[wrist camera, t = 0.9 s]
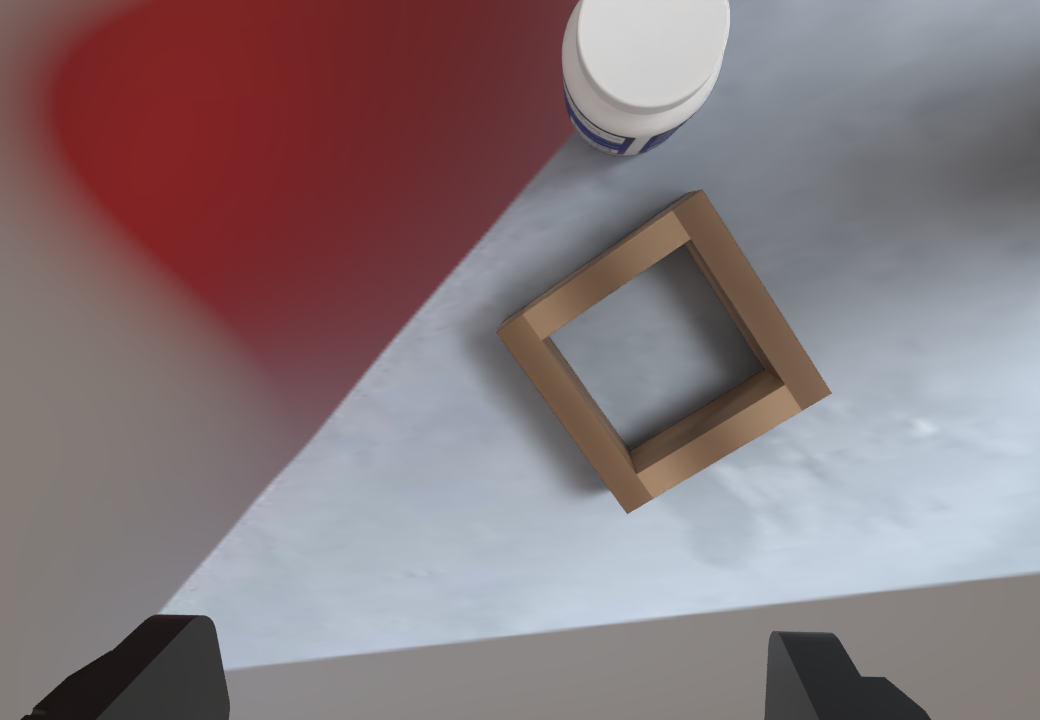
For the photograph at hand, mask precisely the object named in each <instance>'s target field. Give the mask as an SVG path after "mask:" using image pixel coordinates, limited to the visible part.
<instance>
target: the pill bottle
mask: <svg viewBox="0 0 1040 720" xmlns="http://www.w3.org/2000/svg"><path fill="white" fill-rule="evenodd" d="M729 28H730V9H729V2H728V0H580V1H579V2H578V4H577V5H576V7H575V9H574V10H573V12H572V14H571V16H570V19H569V21H568V24H567V27H566V30H565V34H564V39H563V45H562V71H563V85H564V96H565V103H566V108H567V112H568V115H569V117H570V120H571V122H572V124H573V126H574V128H575V129H576V131H577V132H578V133H579V135H580V136H581V137H582V138H583V139H584V140H585V141H586V142H587V143H589V144H590V145H591V146H593V147H595V148H596V149H598V150H600V151H603V152H605V153H609V154H613V155H635V154H639V153H643V152H646V151H648V150H651V149H653V148H655V147H656V146H658V145H660V144H661V143H663V142H664V141H665V140H666V139H668V138H669V137H670V136H671V135H672V134H673V133H674V132H675V131H676V130H677V129H678V128H679V127H680V126H682V125H683V124H684V123H685V122H686V121H687V120H688V119H689V118H690V117H691V116H692V115H693V114H694V113H695V112H697V111H698V109H699V108H700V107H701V106H702V104H703V103H704V102H705V100H706V99H707V98H708V96H709V94H710V92H711V91H712V89H713V87H714V85H715V83H716V80H717V78H718V75H719V72H720V69H721V65H722V61H723V54H724V50H725V47H726V44H727V40H728V35H729Z"/></svg>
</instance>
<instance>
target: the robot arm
mask: <svg viewBox="0 0 1040 720" xmlns="http://www.w3.org/2000/svg"><path fill="white" fill-rule="evenodd" d="M229 712H230V703H229V696H228V691H227V685H226V680H225V675H224V670H223V664H222V659H221V654H220V648H219V643H218V638H217V633H216V628H215V625H214V623H213V621H212V620H211V619H210V618H209V617H208V616H202V615H161V614H160V615H153V616H151V617H149V618H148V619H146V620H145V621H144V622H143V623H142V624H141V625H139V626H138V627H137V628H136V629H135V630H134V631H133V632H132V633H131V634H130V635H129V636H128V637H126V638H125V639H124V640H123V641H122V642H121V643H120V644H119V645H118V646H117V647H116V648H115V649H114V650H112V651H109V652H108V653H106V654H104V655H103V656H101V657H99V658H98V659H96V660H95V661H93V662H91V663H90V664H88V665H86V666H85V667H83V668H82V669H80V670H78V671H77V672H75V673H73V674H72V675H70V676H68V677H67V678H66V679H65V680H64V681H63V682H62V683H61V684H60V685H58V686H57V687H56V688H55V689H54V690H53V691H52V692H51V693H49V694H48V695H47V696H46V697H45V698H44V699H43V700H42V701H41V702H40V703H38V704H37V705H36V706H35V707H34V708H33V712H32V714H31V715H25V716H24V717H23V718H22V719H21V720H229ZM765 720H931V719H930V717H929V716H928V714H927V713H926V712H925V710H923V709H922V708H921V707H920V706H919V705H917V704H916V703H915V702H914V701H913V700H911V699H910V698H909V697H908V696H907V695H905V694H904V693H903V692H902V691H901V690H899V689H898V688H897V687H896V686H895V685H893V684H892V683H891V682H890V681H888V680H887V679H886V678H885V677H861V675H860V674H859V672H858V671H857V669H856V667H855V665H854V664H853V662H852V661H851V659H850V657H849V655H848V654H847V652H846V650H845V649H844V647H843V645H842V644H841V642H840V641H839V639H838V638H837V637H836V636H835V635H834V634H833V633H824V632H784V631H773V632H772V633H771V635H770V639H769V646H768V664H767V684H766V701H765Z"/></svg>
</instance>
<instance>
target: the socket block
mask: <svg viewBox="0 0 1040 720" xmlns="http://www.w3.org/2000/svg"><path fill="white" fill-rule="evenodd" d="M683 244H684V246H685V247H686V249H687V250H688V252H689V253H690V255H691V256H692V258H693V259H694V261H695V263H696V264H697V266H698V267H699V269H700V270H701V272H702V273H703V275H704V276H705V278H706V279H707V281H708V283H709V284H710V286H711V287H712V289H713V290H714V292H715V293H716V295H717V296H718V298H719V299H720V301H721V303H722V304H723V306H724V307H725V309H726V310H727V312H728V313H729V315H730V316H731V318H732V319H733V321H734V323H735V324H736V326H737V327H738V329H739V330H740V332H741V333H742V335H743V336H744V338H745V339H746V341H747V343H748V344H749V346H750V347H751V349H752V350H753V352H754V353H755V355H756V356H757V358H758V359H759V361H760V363H761V364H762V366H763V367H764V370H762V371H760V372H759V373H757V374H755V375H754V376H752V377H751V378H749V379H747V380H746V381H744V382H742V383H741V384H739V385H738V386H736V387H734V388H733V389H731V390H729V391H728V392H726V393H724V394H723V395H721V396H720V397H718V398H716V399H715V400H713V401H711V402H710V403H708V404H707V405H705V406H703V407H702V408H700V409H698V410H697V411H695V412H694V413H692V414H690V415H689V416H687V417H685V418H684V419H682V420H681V421H679V422H677V423H676V424H674V425H672V426H671V427H669V428H667V429H666V430H664V431H663V432H661V433H659V434H658V435H656V436H654V437H653V438H651V439H650V440H648V441H646V442H645V443H643V444H641V445H640V446H638V447H637V448H635V449H633V450H632V451H630V450H629V449H628V447H627V446H626V445H625V443H624V442H623V440H622V439H621V437H620V436H619V435H618V433H617V432H616V430H615V429H614V428H613V426H612V425H611V423H610V422H609V420H608V419H607V418H606V416H605V415H604V413H603V412H602V411H601V409H600V408H599V406H598V405H597V404H596V402H595V401H594V399H593V398H592V396H591V395H590V394H589V392H588V391H587V389H586V388H585V387H584V385H583V384H582V382H581V381H580V379H579V378H578V377H577V375H576V374H575V372H574V371H573V370H572V368H571V367H570V365H569V364H568V362H567V361H566V360H565V358H564V357H563V355H562V354H561V353H560V351H559V350H558V348H557V347H556V345H555V344H554V343H553V341H552V340H551V338H550V337H549V335H550V334H552V333H553V332H555V331H556V330H558V329H559V328H561V327H562V326H564V325H565V324H567V323H568V322H570V321H571V320H572V319H574V318H575V317H577V316H578V315H580V314H581V313H583V312H584V311H586V310H587V309H589V308H590V307H592V306H593V305H595V304H596V303H597V302H599V301H600V300H602V299H603V298H605V297H606V296H608V295H609V294H611V293H612V292H614V291H615V290H617V289H618V288H620V287H621V286H622V285H624V284H625V283H627V282H628V281H630V280H631V279H633V278H634V277H636V276H637V275H639V274H640V273H642V272H643V271H645V270H646V269H648V268H649V267H650V266H652V265H653V264H655V263H656V262H658V261H659V260H661V259H662V258H664V257H665V256H667V255H668V254H670V253H671V252H673V251H674V250H675V249H677V248H678V247H680V246H681V245H683ZM496 333H497V334H498V335H499V337H500V338H501V340H502V341H503V342H504V344H505V345H506V347H507V348H508V349H509V351H510V352H511V353H512V355H513V356H514V358H515V359H516V360H517V362H518V363H519V365H520V366H521V367H522V369H523V370H524V371H525V373H526V374H527V376H528V377H529V378H530V380H531V381H532V383H533V384H534V385H535V387H536V388H537V390H538V391H539V392H540V394H541V395H542V396H543V398H544V399H545V401H546V402H547V403H548V405H549V406H550V408H551V409H552V410H553V412H554V413H555V414H556V416H557V417H558V419H559V420H560V421H561V423H562V424H563V426H564V427H565V428H566V430H567V431H568V433H569V434H570V435H571V437H572V438H573V439H574V441H575V442H576V444H577V445H578V446H579V448H580V449H581V451H582V452H583V453H584V455H585V456H586V457H587V459H588V460H589V462H590V463H591V464H592V466H593V467H594V469H595V470H596V471H597V473H598V474H599V476H600V477H601V478H602V480H603V481H604V482H605V484H606V485H607V487H608V488H609V489H610V491H611V492H612V494H613V495H614V496H615V498H616V499H617V501H618V502H619V503H620V505H621V506H622V507H623V509H624V510H625V512H626V513H627V514H628V513H630V512H632V511H633V510H635V509H637V508H638V507H640V506H642V505H643V504H645V503H647V502H648V501H650V500H652V499H654V498H655V497H657V496H659V495H660V494H662V493H664V492H665V491H667V490H669V489H670V488H672V487H674V486H676V485H677V484H679V483H681V482H682V481H684V480H686V479H687V478H689V477H691V476H692V475H694V474H696V473H698V472H699V471H701V470H703V469H704V468H706V467H708V466H709V465H711V464H713V463H714V462H716V461H718V460H720V459H721V458H723V457H725V456H726V455H728V454H730V453H731V452H733V451H735V450H736V449H738V448H740V447H742V446H743V445H745V444H747V443H748V442H750V441H752V440H753V439H755V438H757V437H758V436H760V435H762V434H764V433H765V432H767V431H769V430H770V429H772V428H774V427H775V426H777V425H779V424H780V423H782V422H784V421H786V420H787V419H789V418H791V417H792V416H794V415H796V414H797V413H799V412H801V411H802V410H804V409H806V408H808V407H809V406H811V405H813V404H814V403H816V402H818V401H819V400H821V399H823V398H824V397H826V396H828V395H830V394H831V391H830V390H829V388H828V386H827V385H826V383H825V382H824V380H823V379H822V377H821V375H820V374H819V372H818V371H817V369H816V368H815V366H814V364H813V363H812V361H811V360H810V358H809V357H808V355H807V353H806V352H805V350H804V349H803V347H802V345H801V344H800V342H799V341H798V339H797V338H796V336H795V334H794V333H793V331H792V330H791V328H790V327H789V325H788V323H787V322H786V320H785V319H784V317H783V316H782V314H781V312H780V311H779V309H778V308H777V306H776V305H775V303H774V301H773V300H772V298H771V297H770V295H769V294H768V292H767V290H766V289H765V287H764V286H763V284H762V283H761V281H760V279H759V278H758V276H757V275H756V273H755V271H754V270H753V268H752V267H751V265H750V264H749V262H748V260H747V259H746V257H745V256H744V254H743V253H742V251H741V249H740V248H739V246H738V245H737V243H736V242H735V240H734V238H733V237H732V235H731V234H730V232H729V231H728V229H727V227H726V226H725V224H724V223H723V221H722V220H721V218H720V216H719V215H718V213H717V212H716V210H715V209H714V207H713V205H712V204H711V202H710V201H709V199H708V197H707V196H706V194H705V193H704V191H703V190H697V191H693V192H689V193H687V194H686V195H684V196H683V197H682V198H680V199H679V200H677V201H676V202H674V203H673V204H671V205H670V206H669V207H667V208H666V209H664V210H663V211H661V212H660V213H659V214H657V215H656V216H654V217H653V218H651V219H650V220H649V221H647V222H646V223H644V224H643V225H641V226H640V227H639V228H637V229H636V230H634V231H633V232H631V233H630V234H628V235H627V236H626V237H624V238H623V239H621V240H620V241H618V242H617V243H616V244H614V245H613V246H611V247H610V248H608V249H607V250H606V251H604V252H603V253H601V254H600V255H598V256H597V257H595V258H594V259H593V260H591V261H590V262H588V263H587V264H585V265H584V266H583V267H581V268H580V269H578V270H577V271H575V272H574V273H573V274H571V275H570V276H568V277H567V278H565V279H564V280H562V281H561V282H560V283H558V284H557V285H555V286H554V287H552V288H551V289H550V290H548V291H547V292H545V293H544V294H542V295H541V296H540V297H538V298H537V299H535V300H534V301H532V302H531V303H530V304H528V305H527V306H525V307H524V308H522V309H521V310H519V311H518V312H517V313H515V314H514V315H512V316H511V317H509V318H508V319H507V320H505V321H504V322H503V323H502V325H501V326H500V328H499V329H498V331H497V332H496Z"/></svg>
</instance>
